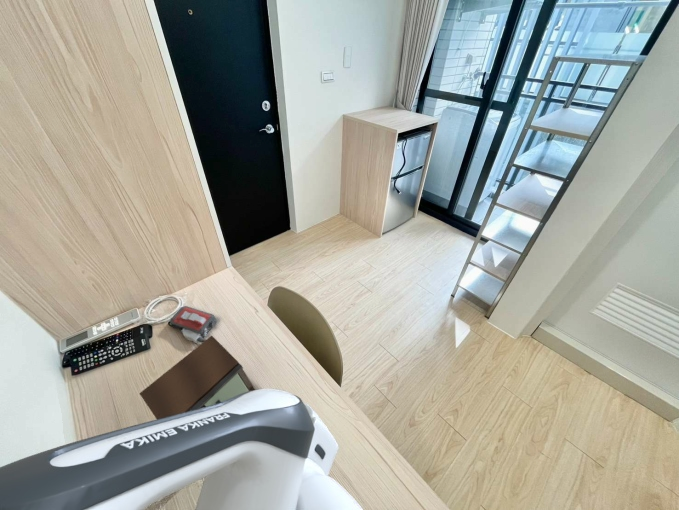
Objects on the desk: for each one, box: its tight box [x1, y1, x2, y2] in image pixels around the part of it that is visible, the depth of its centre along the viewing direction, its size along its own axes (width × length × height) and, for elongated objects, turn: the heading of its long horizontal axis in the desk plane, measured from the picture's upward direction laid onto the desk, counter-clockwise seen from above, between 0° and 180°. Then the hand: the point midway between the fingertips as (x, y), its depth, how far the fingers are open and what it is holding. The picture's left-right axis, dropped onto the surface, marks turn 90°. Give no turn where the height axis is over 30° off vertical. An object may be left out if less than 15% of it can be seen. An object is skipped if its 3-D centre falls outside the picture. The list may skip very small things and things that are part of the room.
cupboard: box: [139, 335, 256, 420], centre depth 60 cm, size 16×11×16 cm
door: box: [205, 373, 249, 407], centre depth 59 cm, size 8×5×13 cm, turn 141°
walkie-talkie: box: [167, 305, 217, 344], centre depth 79 cm, size 9×4×20 cm
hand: (256, 449), depth 48 cm, fingers open, 8 cm apart
